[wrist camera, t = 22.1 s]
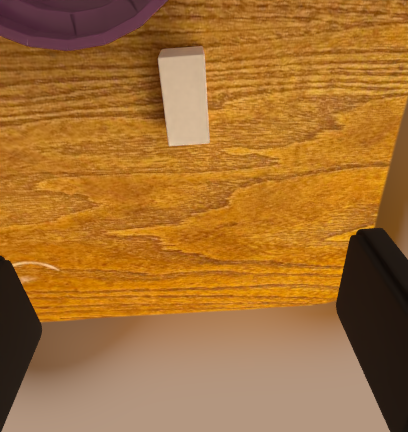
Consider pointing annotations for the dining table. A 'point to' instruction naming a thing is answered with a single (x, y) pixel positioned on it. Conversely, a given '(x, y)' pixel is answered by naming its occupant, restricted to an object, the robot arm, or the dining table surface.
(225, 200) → the dining table surface
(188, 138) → the eraser
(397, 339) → the robot arm
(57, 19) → the bowl
